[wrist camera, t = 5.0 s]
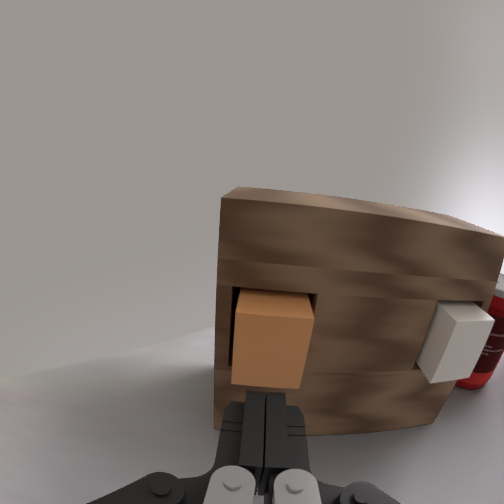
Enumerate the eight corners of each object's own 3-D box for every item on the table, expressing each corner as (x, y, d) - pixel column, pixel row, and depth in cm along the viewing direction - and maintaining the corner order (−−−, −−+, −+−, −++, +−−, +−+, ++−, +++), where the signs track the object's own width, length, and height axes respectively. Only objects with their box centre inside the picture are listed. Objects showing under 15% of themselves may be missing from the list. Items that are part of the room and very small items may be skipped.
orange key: (293, 339, 19) (302, 278, 18) (299, 388, 14) (314, 318, 13) (239, 334, 19) (244, 273, 18) (231, 383, 14) (235, 312, 13)
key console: (403, 369, 25) (448, 215, 21) (432, 422, 18) (508, 238, 13) (227, 364, 26) (237, 186, 21) (214, 428, 18) (221, 197, 14)
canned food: (460, 347, 29) (488, 266, 25) (498, 380, 21) (536, 291, 18) (421, 357, 27) (451, 265, 24) (461, 399, 20) (508, 297, 17)
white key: (439, 340, 19) (456, 289, 17) (469, 377, 14) (495, 320, 13) (402, 341, 19) (420, 287, 17) (429, 383, 14) (456, 321, 13)
